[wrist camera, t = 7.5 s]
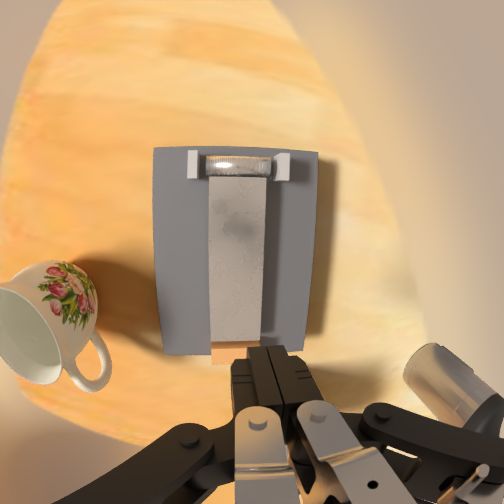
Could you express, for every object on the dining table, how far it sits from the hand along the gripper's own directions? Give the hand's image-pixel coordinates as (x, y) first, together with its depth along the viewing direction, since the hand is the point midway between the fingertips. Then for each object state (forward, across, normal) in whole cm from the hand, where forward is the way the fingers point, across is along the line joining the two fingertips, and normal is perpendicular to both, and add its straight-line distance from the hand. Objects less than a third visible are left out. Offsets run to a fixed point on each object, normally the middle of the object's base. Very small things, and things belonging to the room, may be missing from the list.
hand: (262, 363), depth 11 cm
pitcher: (+21, +20, +6) cm, 30 cm away
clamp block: (+21, 0, 0) cm, 21 cm away
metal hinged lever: (+16, 0, -1) cm, 16 cm away
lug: (+17, 0, +9) cm, 19 cm away
